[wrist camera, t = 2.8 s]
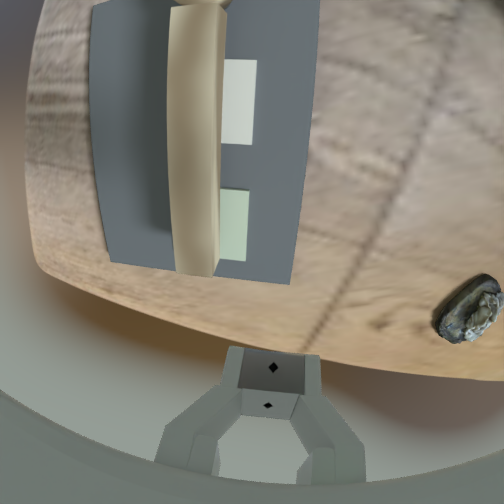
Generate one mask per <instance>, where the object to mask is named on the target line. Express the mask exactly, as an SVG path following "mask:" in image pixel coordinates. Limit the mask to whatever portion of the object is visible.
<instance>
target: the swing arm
mask: <svg viewBox="0 0 504 504" xmlns="http://www.w3.org/2000/svg"><path fill="white" fill-rule="evenodd" d="M174 1H176V2H177V3H179V4H180V5H182V6H177V7H171V14H170V28H169V44H168V67H167V152H168V177H169V195H170V210H171V224H172V235H173V246H174V257H175V266H176V273H178V274H186V275H193V276H201V277H209V278H212V277H213V274H214V272H215V269H216V266H217V264H218V261H219V259H220V171H221V130H222V101H223V78H224V58H225V41H226V25H227V13H226V12H225V10H224V8H226V7H227V6H228V5H229V4H230V3H231V2H232V0H174Z"/></svg>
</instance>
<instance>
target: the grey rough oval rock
mask: <svg viewBox="0 0 504 504" xmlns="http://www.w3.org/2000/svg"><path fill="white" fill-rule="evenodd" d="M503 306H504V293H503V292H501V288H500V285H499V284H498V282H497V280H496V279H494V278H493V277H491V276H490V275H482V276H480V277H479V278H477V279H475V280H474V281H473V282H472V283H470V284H469V285H468V286H467V287H466V288H464V289H463V290H462V291H461V292H460V293H459V294H458V295H456V296H455V297H454V298H453V299H452V300H451V301H450V302H449V303H448V304H447V305H446V306H445V308H444V309H443V310H442V311H441V313H440V315H439V317H438V319H437V321H436V323H435V324H436V329H437V332H438V335H439V336H441V337H442V338H445V339H446V340H448V341H449V342H451V343H452V344H456V343H461V342H462V341H466V340H468V341H470V342H472V341H474V340H476V339H477V338H478V337H479V336H482V333H483V330H485V329H486V328H489V327H490V324H491V323H492V322H496V320H497V316H498V315H499V314H500V312H501V310H502V309H503Z"/></svg>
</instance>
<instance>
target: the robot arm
mask: <svg viewBox="0 0 504 504" xmlns="http://www.w3.org/2000/svg"><path fill="white" fill-rule="evenodd" d="M241 415H246V416H256V417H266V418H275V419H284V420H290V422H291V424H292V426H293V428H294V430H295V432H296V433H297V435H298V437H299V439H300V440H301V442H302V444H303V446H304V447H305V449H306V451H307V453H308V454H309V457H308V458H307V459H306V461H305V462H304V463H303V464H302V466H301V467H300V468H299V469H298V471H297V480H296V484H277V483H264V482H254V481H245V480H237V479H230V478H224V477H218V474H219V469H220V457H219V448H218V440H219V439H220V438H221V437H222V436H223V435H224V434H225V432H226V431H227V430H228V429H229V428H230V427H231V426H232V425H233V424H234V423H235V422H236V421H237V420H238V419H239V418H240V416H241ZM0 504H504V449H502V450H499V451H497V452H494V453H492V454H489V455H486V456H483V457H480V458H477V459H474V460H472V461H468V462H465V463H462V464H458V465H455V466H452V467H448V468H444V469H440V470H436V471H432V472H427V473H423V474H418V475H412V476H407V477H401V478H395V479H388V480H382V481H372V482H366V466H365V450H364V445H363V443H362V442H361V441H360V440H359V438H358V437H357V436H356V435H355V433H354V432H353V431H352V429H351V428H350V427H349V426H348V424H347V423H346V422H345V420H344V419H343V418H342V417H341V415H340V414H339V413H338V411H337V410H336V409H335V407H334V406H333V405H332V404H331V402H330V401H329V400H328V398H327V397H326V396H322V394H321V369H320V357H319V355H309V354H300V353H287V352H276V351H274V352H271V351H263V350H256V349H249V348H243V347H236V346H230V347H229V349H228V352H227V357H226V361H225V365H224V370H223V374H222V378H221V382H220V385H215V386H214V387H213V388H211V389H210V390H209V391H208V392H206V393H205V394H204V395H203V396H202V397H200V398H199V399H198V400H197V401H196V402H194V403H193V404H192V405H191V406H190V407H188V408H187V409H186V410H185V411H184V412H182V413H181V414H180V415H178V416H177V417H176V418H175V419H173V420H172V421H171V422H170V423H169V424H167V425H166V426H165V429H164V432H163V435H162V438H161V441H160V444H159V448H158V451H157V454H156V457H155V460H154V462H153V461H149V460H146V459H143V458H140V457H136V456H133V455H131V454H128V453H125V452H122V451H119V450H117V449H113V448H111V447H109V446H106V445H103V444H101V443H98V442H96V441H94V440H91V439H89V438H87V437H85V436H82V435H80V434H78V433H76V432H74V431H71V430H69V429H67V428H65V427H63V426H61V425H59V424H57V423H55V422H53V421H52V420H49V419H48V418H46V417H44V416H42V415H40V414H39V413H37V412H35V411H33V410H32V409H30V408H28V407H27V406H25V405H23V404H22V403H20V402H18V401H17V400H15V399H14V398H12V397H11V396H9V395H7V394H6V393H5V392H3V391H2V390H0Z"/></svg>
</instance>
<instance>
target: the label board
mask: <svg viewBox="0 0 504 504" xmlns="http://www.w3.org/2000/svg"><path fill="white" fill-rule="evenodd" d="M177 6H182V5H180V4H179V3H177V2H176V1H174V0H110V1H107V2H104V3H100V4H97V5H94V6H93V13H92V24H91V36H90V56H89V106H90V126H91V140H92V151H93V161H94V169H95V178H96V185H97V192H98V199H99V205H100V211H101V216H102V222H103V227H104V232H105V237H106V242H107V247H108V252H109V256H110V260H111V262H115V263H122V264H129V265H136V266H143V267H150V268H157V269H164V270H171V271H176V266H175V257H174V246H173V235H172V224H171V210H170V195H169V177H168V152H167V67H168V44H169V28H170V14H171V7H177ZM319 9H320V0H232V2H231V3H230V4H229V5H228V6H227V7H226V8H224V10H225V12H226V13H227V25H226V41H225V58H224V78H223V101H222V130H221V171H220V259H219V261H218V264H217V266H216V269H215V272H214V274H213V276H217V277H226V278H234V279H242V280H251V281H260V282H268V283H277V284H287V285H289V284H290V278H291V272H292V266H293V259H294V252H295V246H296V239H297V232H298V225H299V218H300V211H301V203H302V195H303V188H304V180H305V172H306V163H307V154H308V146H309V136H310V127H311V117H312V107H313V96H314V84H315V72H316V59H317V44H318V28H319Z"/></svg>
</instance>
